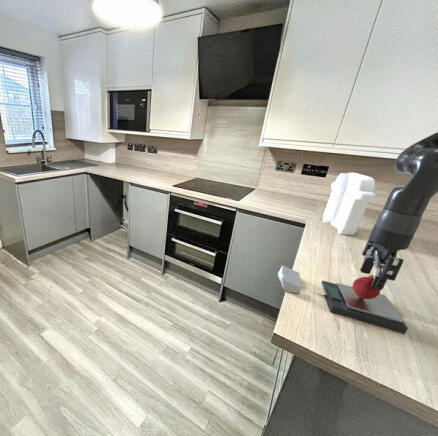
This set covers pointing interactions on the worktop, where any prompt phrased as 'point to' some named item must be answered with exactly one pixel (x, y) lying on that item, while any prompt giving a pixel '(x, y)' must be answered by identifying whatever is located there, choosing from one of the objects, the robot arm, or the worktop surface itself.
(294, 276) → the light grey faceted block
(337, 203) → the white stepped block
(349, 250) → the worktop surface
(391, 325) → the scale
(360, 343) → the worktop surface
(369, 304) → the scale plate
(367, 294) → the onion
